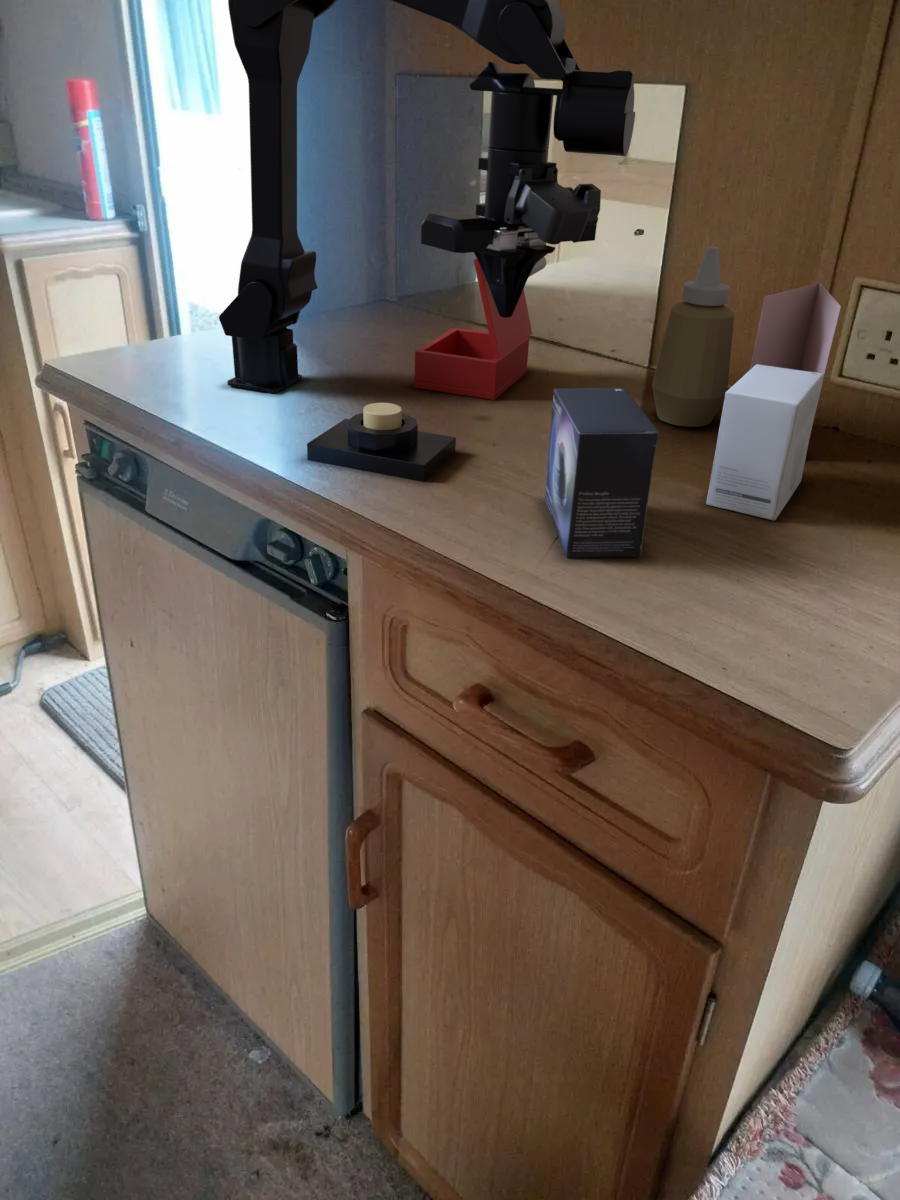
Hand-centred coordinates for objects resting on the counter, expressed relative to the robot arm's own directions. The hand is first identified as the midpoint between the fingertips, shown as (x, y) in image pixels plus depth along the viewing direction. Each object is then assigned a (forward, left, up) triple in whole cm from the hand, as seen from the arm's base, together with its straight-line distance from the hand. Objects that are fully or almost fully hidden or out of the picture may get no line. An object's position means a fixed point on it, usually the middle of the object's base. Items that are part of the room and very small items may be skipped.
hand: (505, 316), depth 94 cm
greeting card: (+30, +7, -11) cm, 32 cm away
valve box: (-7, +12, -11) cm, 17 cm away
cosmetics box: (+28, -9, -11) cm, 31 cm away
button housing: (-6, -16, -11) cm, 21 cm away
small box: (+16, -23, -11) cm, 30 cm away
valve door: (-4, +12, -1) cm, 12 cm away
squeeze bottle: (+19, +9, -11) cm, 23 cm away
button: (-6, -16, -8) cm, 19 cm away
